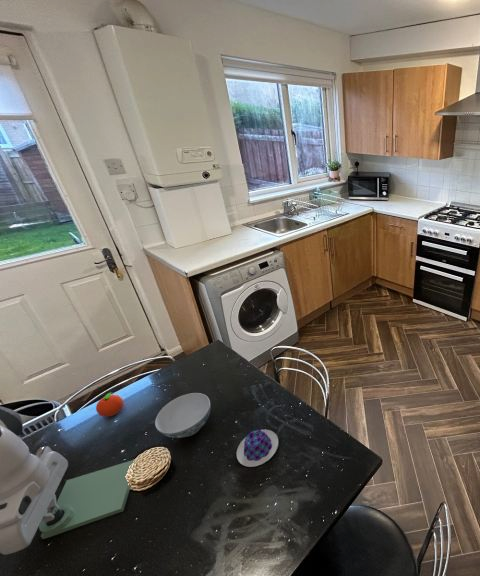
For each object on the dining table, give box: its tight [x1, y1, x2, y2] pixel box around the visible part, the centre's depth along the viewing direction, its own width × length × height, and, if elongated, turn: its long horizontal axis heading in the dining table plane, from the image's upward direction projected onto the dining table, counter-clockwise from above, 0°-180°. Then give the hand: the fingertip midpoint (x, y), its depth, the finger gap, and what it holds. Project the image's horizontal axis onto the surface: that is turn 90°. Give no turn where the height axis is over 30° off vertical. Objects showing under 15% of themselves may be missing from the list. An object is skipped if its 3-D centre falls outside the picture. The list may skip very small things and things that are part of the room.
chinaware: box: [154, 392, 212, 439], centre depth 99 cm, size 15×15×8 cm
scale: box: [38, 459, 135, 540], centre depth 82 cm, size 16×14×3 cm
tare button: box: [47, 509, 64, 525], centre depth 75 cm, size 3×3×2 cm
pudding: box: [236, 429, 279, 468], centre depth 93 cm, size 12×12×5 cm
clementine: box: [95, 392, 124, 418], centre depth 104 cm, size 8×7×7 cm
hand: (52, 514), depth 75 cm, fingers closed
